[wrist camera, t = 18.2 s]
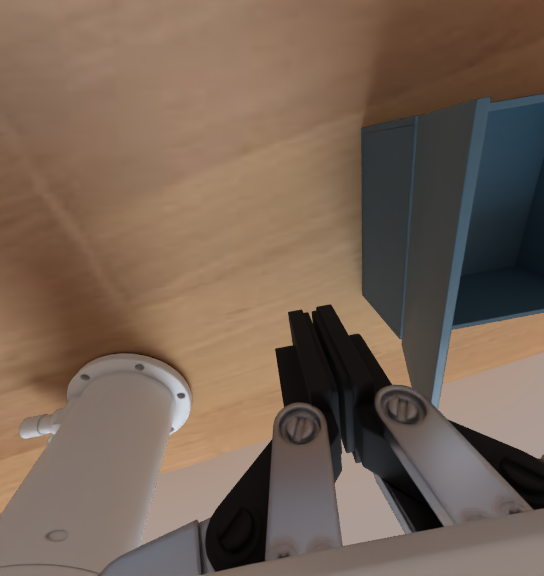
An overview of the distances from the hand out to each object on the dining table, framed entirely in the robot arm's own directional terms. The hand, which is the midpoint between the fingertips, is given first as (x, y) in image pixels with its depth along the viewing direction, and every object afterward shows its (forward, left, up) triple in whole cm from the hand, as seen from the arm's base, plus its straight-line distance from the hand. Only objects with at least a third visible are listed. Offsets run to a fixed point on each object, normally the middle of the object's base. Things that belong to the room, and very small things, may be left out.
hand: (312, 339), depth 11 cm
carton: (+16, 0, -15) cm, 22 cm away
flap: (+7, 0, -3) cm, 7 cm away
